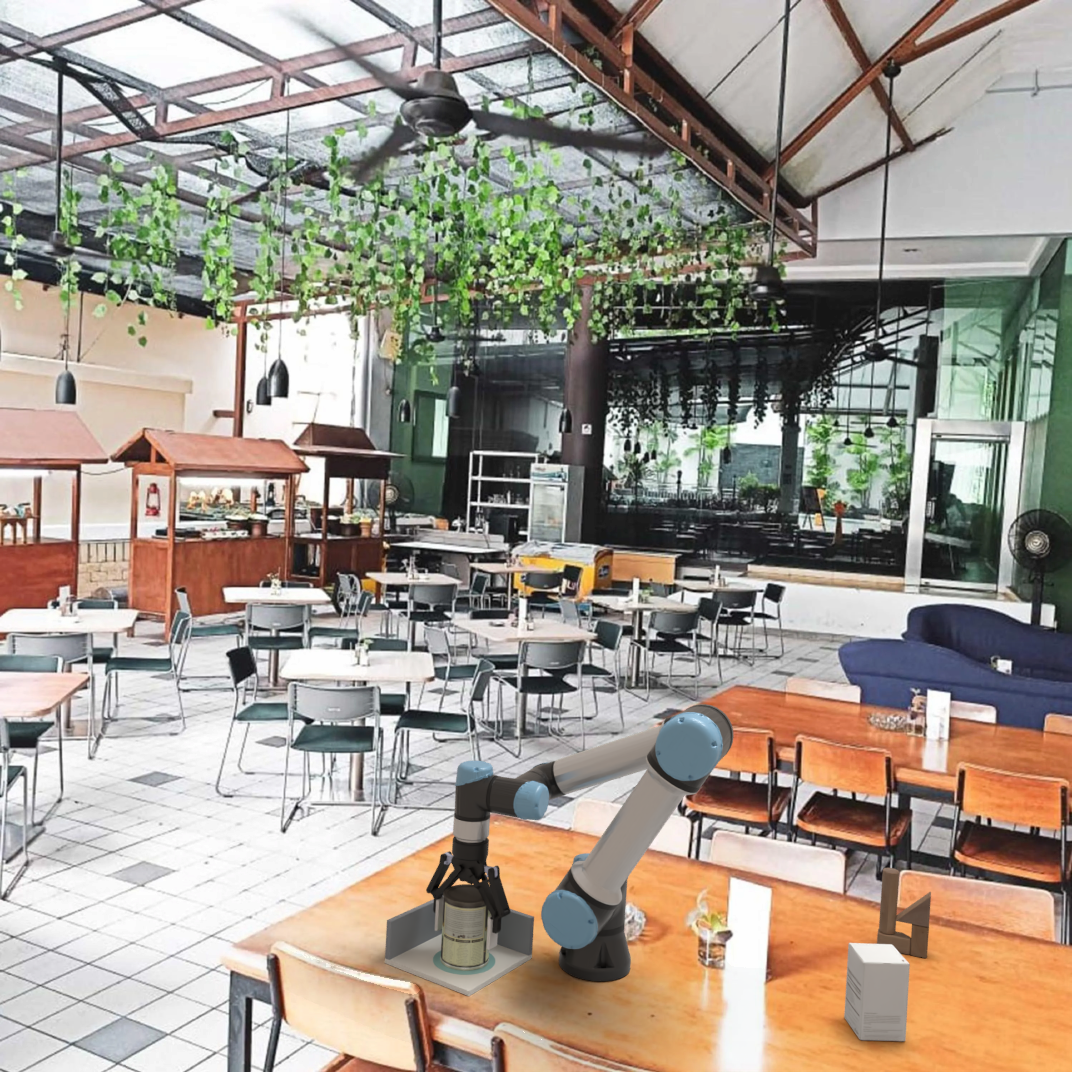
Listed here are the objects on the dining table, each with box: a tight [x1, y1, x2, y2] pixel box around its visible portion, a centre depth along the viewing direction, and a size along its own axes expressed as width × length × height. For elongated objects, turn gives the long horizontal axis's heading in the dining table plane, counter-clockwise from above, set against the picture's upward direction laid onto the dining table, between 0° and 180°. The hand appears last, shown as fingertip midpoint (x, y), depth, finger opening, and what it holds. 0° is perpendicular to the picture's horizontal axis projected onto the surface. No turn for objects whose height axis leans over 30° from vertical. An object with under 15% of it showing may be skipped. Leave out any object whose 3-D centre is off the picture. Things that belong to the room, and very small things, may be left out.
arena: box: [384, 898, 535, 997], centre depth 213 cm, size 22×22×9 cm
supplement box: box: [843, 942, 911, 1042], centre depth 194 cm, size 9×9×15 cm
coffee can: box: [440, 883, 491, 971], centre depth 211 cm, size 10×10×14 cm
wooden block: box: [876, 867, 932, 959], centre depth 231 cm, size 4×11×18 cm, turn 68°
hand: (465, 938), depth 211 cm, fingers open, 13 cm apart
